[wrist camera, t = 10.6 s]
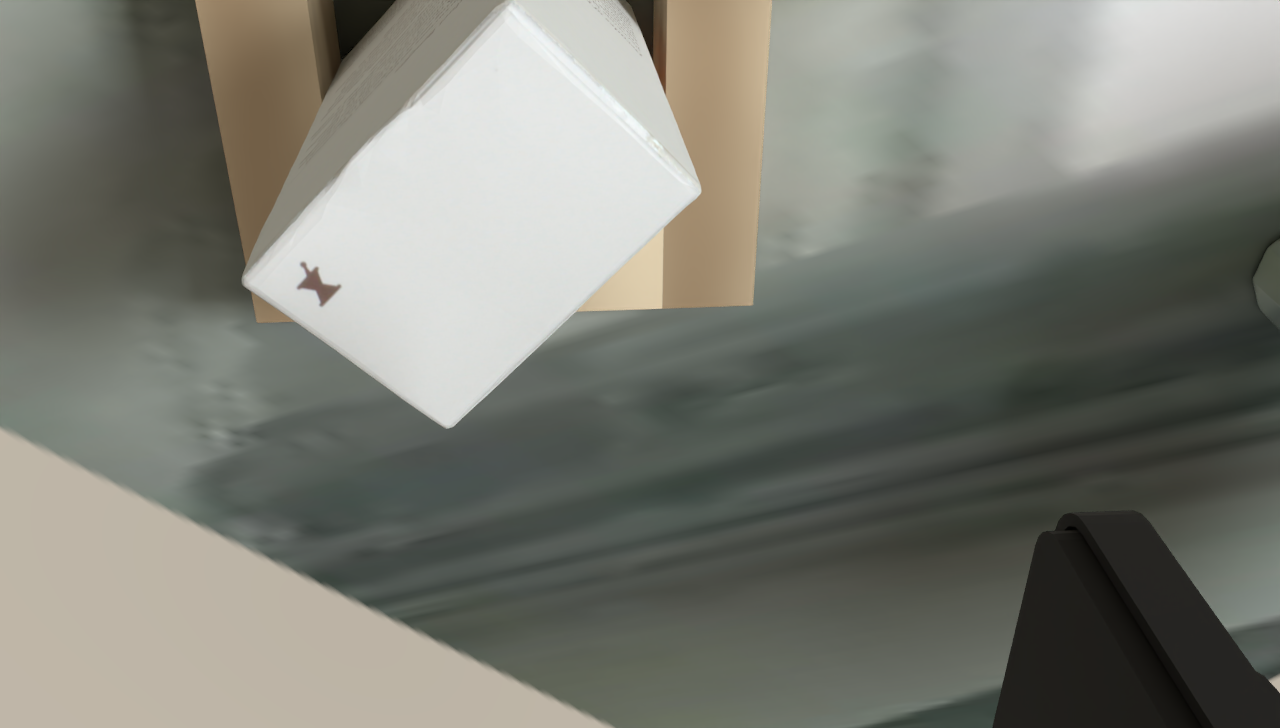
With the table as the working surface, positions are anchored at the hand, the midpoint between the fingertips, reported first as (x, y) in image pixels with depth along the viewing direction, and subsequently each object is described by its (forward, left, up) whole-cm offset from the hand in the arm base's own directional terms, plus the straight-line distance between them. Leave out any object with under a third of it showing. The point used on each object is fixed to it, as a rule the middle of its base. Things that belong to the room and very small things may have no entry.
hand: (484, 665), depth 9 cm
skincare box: (+1, 0, -21) cm, 21 cm away
